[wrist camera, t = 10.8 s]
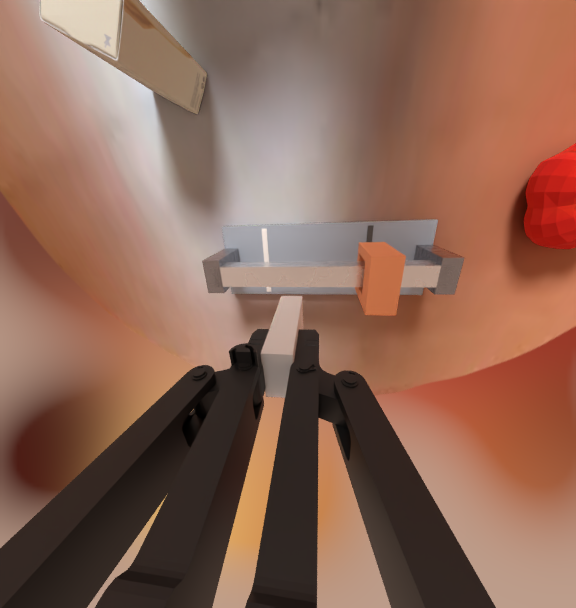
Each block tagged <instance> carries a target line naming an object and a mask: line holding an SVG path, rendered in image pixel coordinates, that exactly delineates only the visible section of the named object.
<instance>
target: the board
mask: <svg viewBox="0 0 576 608" xmlns="http://www.w3.org/2000/svg"><path fill="white" fill-rule="evenodd" d="M437 223H438V220H436V219H428V220H397V221H366V222H334V223H303V224H271V225H240V226H223V227H222V233H223V239H224V246H225V249H229V248H238V250H239V258H240V262H297V261H357V258H358V246H359V242H386V243H387V244H389V245H390V246H392V247H393V248H395V249H396V250H397V251H399V252H400V253H402V254H403V255H405V256H406V259H405V260H414V255H415V250H416V245H433V242H434V237H435V232H436V228H437ZM423 289H424V287H401V289H400V295H422V294H423ZM231 292H232V294H355V295H357V293H356V290H355V287H231Z"/></svg>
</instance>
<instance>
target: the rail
mask: <svg viewBox="0 0 576 608" xmlns="http://www.w3.org/2000/svg"><path fill="white" fill-rule="evenodd" d="M463 261H464V257H462V256H459V255H457V254H454V253H452V252H449V251H447V250H445V249H442V248H440V247H437V246H435V245H416V250H415V255H414V260H405V265H404V271H403V277H402V283H401V287H426V288H428V289H429V290H430V291H431V292H432V293H434V294H455V290H456V287H457V283H458V279H459V276H460V272H461V268H462V265H463ZM202 262H203V267H204V272H205V277H206V282H207V288H208V293H225V292H226V291H227V290H228V289H229V288H230V287H363V279H364V269H365V261H297V262H240V258H239V250H238V248H229V249H223V250H221V251H220V252H218V253H216V254H214V255H212V256H210V257H208V258H207V259H205V260H203V261H202Z"/></svg>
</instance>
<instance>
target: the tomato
mask: <svg viewBox="0 0 576 608" xmlns="http://www.w3.org/2000/svg"><path fill="white" fill-rule="evenodd" d="M525 194H526V199H527V204H528V207H527V210H526V213H525V216H524V219H523V220H524V228H525V233H526V235H527V236H528V237H529V238H530V240H531V241H532V242H533V243H535V244H537V245H539V246H544V247H549V248H555V249H571V248H575V247H576V143H575V144H574V145H572V146H571V147H569V148H567V149H566V150H564V151H563V152H561V153H559V154H557V155H555V156H553V157H551V158H549V159H547V160H545V161H543V162H541V163H540V164H539V165H538V167H537V168H536V170H535V171H534V173H533V174H532V176H531V177H530V178H529V181H528V185H527V189H526V192H525Z"/></svg>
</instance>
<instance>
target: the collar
mask: <svg viewBox="0 0 576 608" xmlns="http://www.w3.org/2000/svg"><path fill="white" fill-rule="evenodd" d="M405 259H406V256H405V255H403V254H402V253H400V252H399V251H397V250H396V249H395V248H393V247H392V246H390V245H389V244H387V243H386V242H359V246H358V258H357V261H365V269H364V279H363V287H355V290H356V293H357V295H358V298H359V300H360V303H361V306H362V308H363V311H364V313H365V315H392V316H396V313H397V307H398V301H399V295H400V289H401V283H402V277H403V271H404V265H405Z"/></svg>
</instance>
